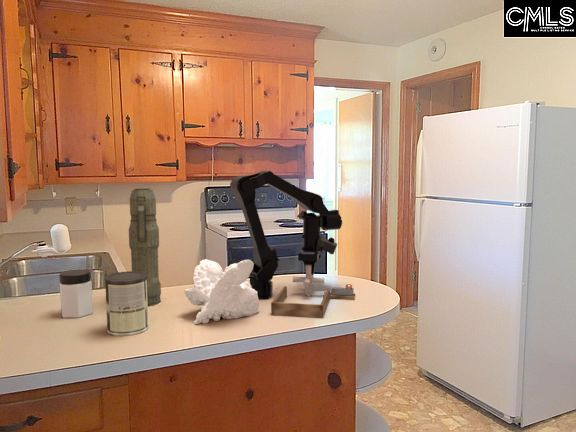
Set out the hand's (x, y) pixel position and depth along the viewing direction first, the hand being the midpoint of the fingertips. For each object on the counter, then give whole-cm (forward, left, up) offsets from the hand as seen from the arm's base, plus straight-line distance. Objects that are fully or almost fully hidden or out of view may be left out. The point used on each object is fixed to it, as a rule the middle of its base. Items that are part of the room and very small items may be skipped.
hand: (311, 276), depth 159 cm
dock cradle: (+4, -17, -4) cm, 18 cm away
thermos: (-48, -24, -5) cm, 54 cm away
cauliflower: (-21, -32, -5) cm, 39 cm away
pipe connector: (0, -7, -5) cm, 9 cm away
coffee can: (-41, -47, -5) cm, 63 cm away
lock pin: (+11, -8, -4) cm, 14 cm away
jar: (-62, -38, -5) cm, 73 cm away
